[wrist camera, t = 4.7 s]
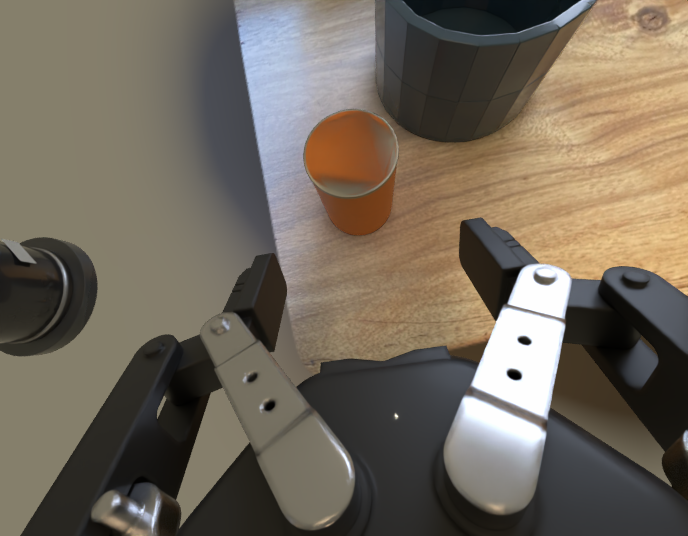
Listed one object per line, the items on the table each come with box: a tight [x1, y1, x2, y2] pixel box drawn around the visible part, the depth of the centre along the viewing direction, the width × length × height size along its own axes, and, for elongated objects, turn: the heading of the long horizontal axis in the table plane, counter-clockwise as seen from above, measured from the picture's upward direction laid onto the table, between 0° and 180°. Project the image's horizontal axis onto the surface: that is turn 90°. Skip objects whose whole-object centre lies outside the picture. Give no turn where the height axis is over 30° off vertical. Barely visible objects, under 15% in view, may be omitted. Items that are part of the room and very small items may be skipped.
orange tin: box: [303, 109, 399, 235], centre depth 21 cm, size 6×6×8 cm
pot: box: [375, 0, 598, 142], centre depth 21 cm, size 13×13×9 cm
